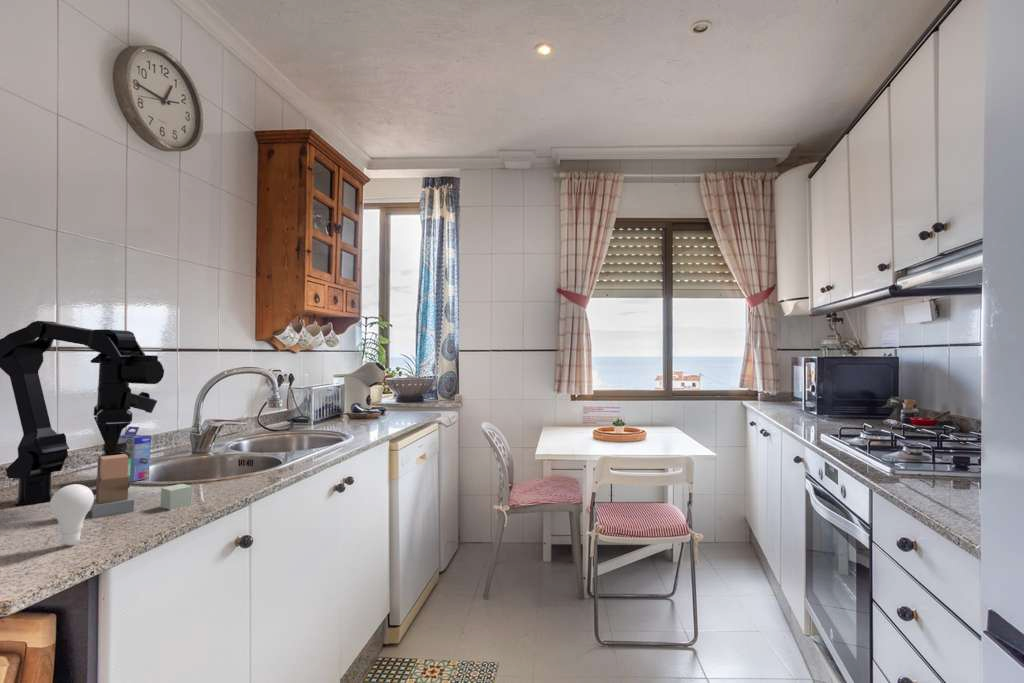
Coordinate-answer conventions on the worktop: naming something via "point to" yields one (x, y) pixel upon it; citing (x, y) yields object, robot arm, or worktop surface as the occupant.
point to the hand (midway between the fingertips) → (110, 449)
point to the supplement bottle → (119, 450)
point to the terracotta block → (113, 466)
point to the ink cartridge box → (138, 453)
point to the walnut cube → (111, 490)
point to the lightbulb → (71, 510)
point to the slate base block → (112, 507)
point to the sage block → (176, 496)
